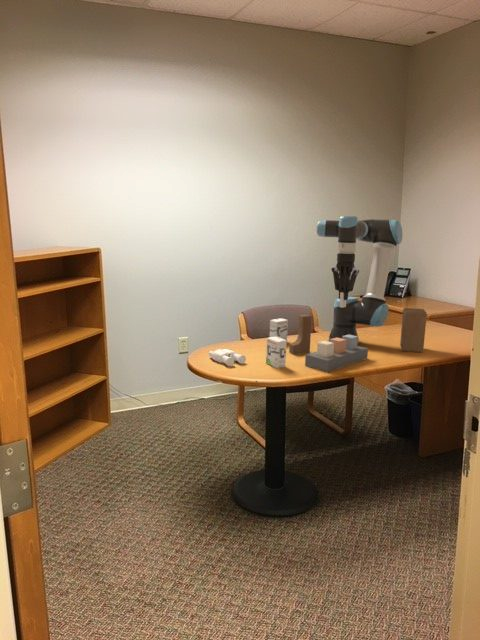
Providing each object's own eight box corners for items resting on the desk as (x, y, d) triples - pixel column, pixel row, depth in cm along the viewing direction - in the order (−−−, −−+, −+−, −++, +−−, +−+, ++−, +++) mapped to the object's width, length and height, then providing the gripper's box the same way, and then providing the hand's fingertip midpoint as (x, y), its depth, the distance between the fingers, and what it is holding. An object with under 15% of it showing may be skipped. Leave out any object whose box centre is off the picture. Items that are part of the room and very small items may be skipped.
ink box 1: (275, 344, 256) (276, 321, 254) (268, 342, 260) (269, 320, 257) (287, 342, 262) (288, 319, 259) (280, 340, 265) (281, 318, 263)
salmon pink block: (329, 354, 227) (330, 339, 226) (336, 352, 230) (337, 337, 229) (338, 356, 224) (339, 341, 222) (345, 354, 227) (346, 339, 225)
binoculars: (226, 367, 218) (227, 357, 217) (206, 358, 231) (206, 349, 230) (246, 363, 224) (246, 353, 223) (225, 355, 237) (225, 345, 236)
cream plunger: (316, 358, 221) (317, 342, 220) (323, 356, 224) (324, 340, 223) (326, 360, 217) (326, 344, 216) (333, 358, 221) (334, 342, 219)
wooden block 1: (293, 354, 238) (294, 317, 234) (288, 352, 242) (290, 315, 239) (310, 353, 242) (311, 316, 238) (305, 350, 246) (307, 314, 242)
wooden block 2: (423, 353, 245) (427, 312, 241) (401, 351, 247) (405, 311, 243) (420, 347, 255) (424, 308, 251) (399, 346, 257) (403, 307, 252)
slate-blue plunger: (341, 350, 233) (342, 336, 232) (347, 349, 236) (348, 334, 235) (350, 353, 230) (351, 338, 228) (356, 351, 233) (357, 336, 231)
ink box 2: (265, 363, 224) (266, 337, 222) (274, 361, 227) (275, 336, 225) (277, 368, 217) (277, 341, 215) (286, 366, 220) (287, 340, 217)
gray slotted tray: (305, 365, 222) (305, 354, 221) (345, 353, 242) (346, 343, 241) (327, 372, 213) (327, 360, 212) (367, 358, 234) (368, 348, 232)
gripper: (328, 251, 220) (325, 305, 225) (354, 254, 211) (350, 310, 216) (338, 251, 225) (335, 304, 230) (364, 253, 216) (360, 308, 221)
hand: (342, 306), depth 223 cm, fingers closed
